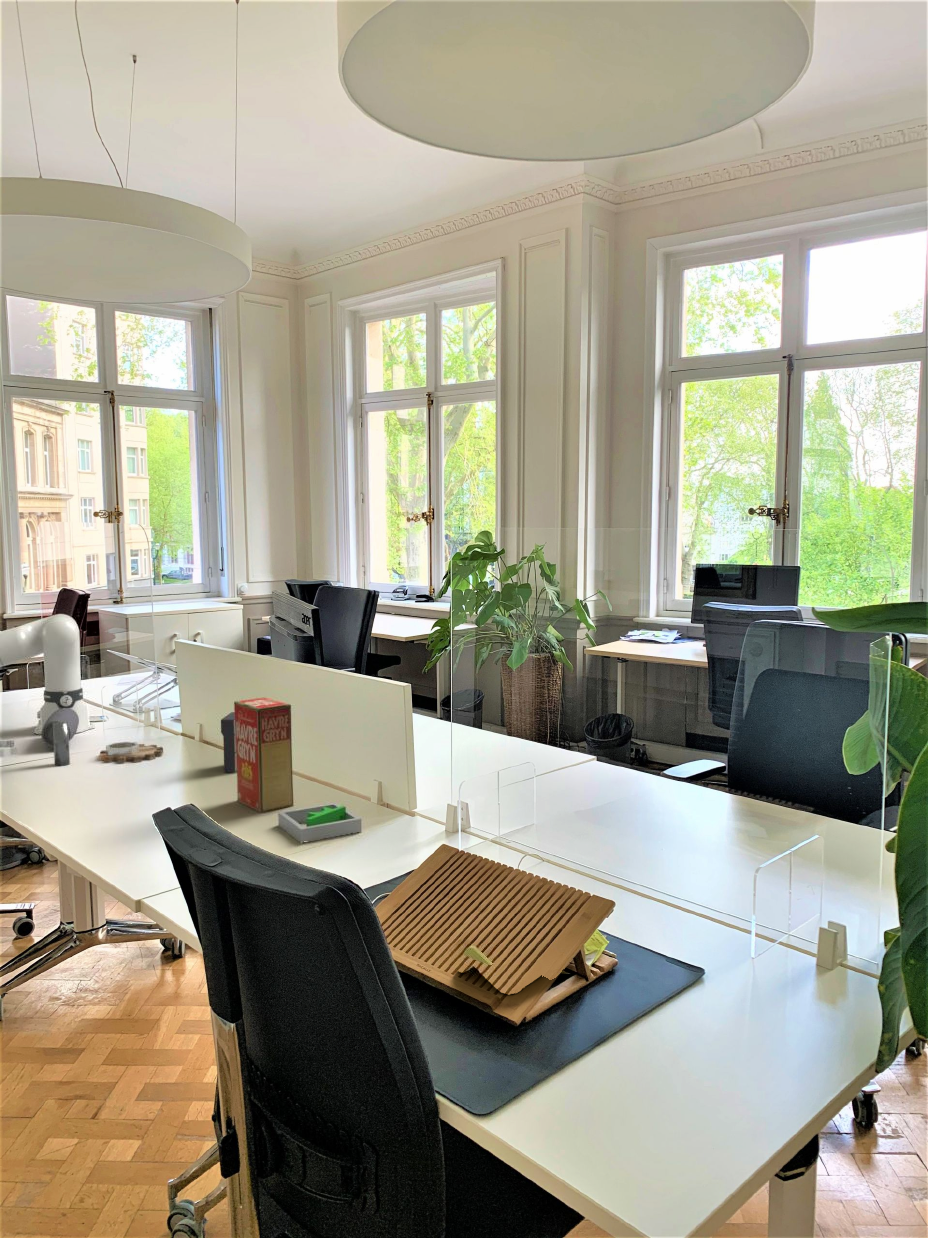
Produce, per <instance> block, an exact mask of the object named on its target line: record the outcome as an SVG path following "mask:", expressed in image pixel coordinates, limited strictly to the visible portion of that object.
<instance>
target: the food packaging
mask: <svg viewBox="0 0 928 1238" xmlns="http://www.w3.org/2000/svg"><path fill="white" fill-rule="evenodd" d="M233 705H234V708H233V710H234V711H233V712H235V735H236V761H237V771H236V786H237V788H236V789H237V790H236V791H237V799H236V801H237V802H238V803H241V804H242V805H244V806H247V807H249V808H251V809H253V810H254V811H257V812H259V813H266V812H272V811H276V810H280V809H285V808H291V807H293V806H294V782H293V748H292V747H293V743H292V705H291V704H290V703H287V702H286V703H285V702H282V701H278V700H273V699H271V698H267V697H256V698H250V699H242V700H237V701H234V702H233Z"/></svg>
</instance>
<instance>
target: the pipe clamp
mask: <svg viewBox="0 0 928 1238" xmlns="http://www.w3.org/2000/svg"><path fill="white" fill-rule="evenodd" d="M346 807H347V806H345V805H340V807H337V808H334V809H331V808H326V807H323V808H322V812H309V813H308V818H306V822H305V823H306V827H309V826H314V825H320V824H326V823H331V822H337V821H343V820H346V809H347V808H346Z"/></svg>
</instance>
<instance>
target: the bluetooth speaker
mask: <svg viewBox="0 0 928 1238" xmlns="http://www.w3.org/2000/svg"><path fill="white" fill-rule="evenodd" d="M55 722H68V729H69V742H70V741H71V740H72V739H73V737H74V736H75V734H76V731H77V728H78V724H79V717H78V715H77V713H76V712H75V711H74V710H72V709H70V708H61V709H59V710H57V711H55V712H54V713H53V714H52V715H51V716H50V717H49V718H48V719H47V721H46V723H45V724H44V726H43V728H42V733H41V734H40V735H41V739H42V743H44V744H45V745H46V746H48V747H50V748H54V739H53V723H55Z"/></svg>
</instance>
